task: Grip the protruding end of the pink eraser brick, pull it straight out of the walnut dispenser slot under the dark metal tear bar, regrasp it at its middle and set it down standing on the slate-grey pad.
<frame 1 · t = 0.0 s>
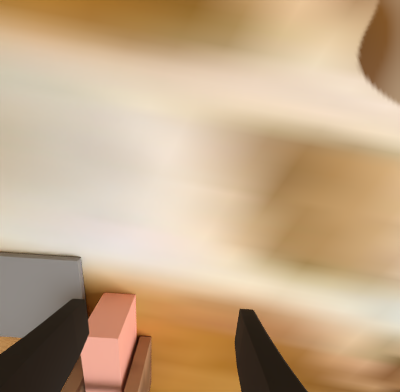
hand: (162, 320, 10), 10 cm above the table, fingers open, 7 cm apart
pad: (36, 296, 23), on the table
pink eraser brick: (122, 329, 24), resting in dispenser
dispenser: (122, 355, 25), on the table
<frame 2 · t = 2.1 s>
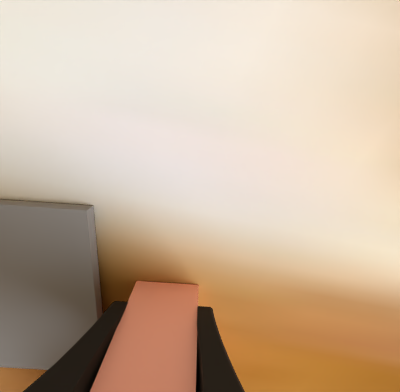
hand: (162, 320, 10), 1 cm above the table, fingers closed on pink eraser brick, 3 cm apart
pad: (5, 288, 12), on the table
pink eraser brick: (165, 353, 13), on the table, touching gripper
when the fingers open (1 cm above the table, at t = 4.4 s): pink eraser brick stays where it is, on the table.
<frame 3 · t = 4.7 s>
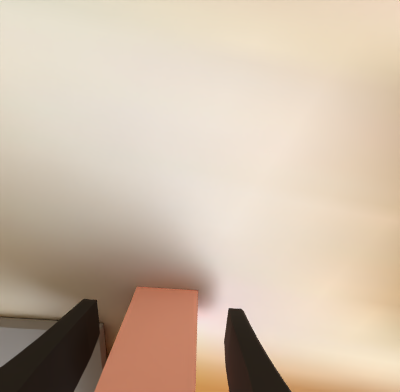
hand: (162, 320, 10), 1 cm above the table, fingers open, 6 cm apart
pad: (28, 380, 14), on the table
pink eraser brick: (166, 355, 13), on the table
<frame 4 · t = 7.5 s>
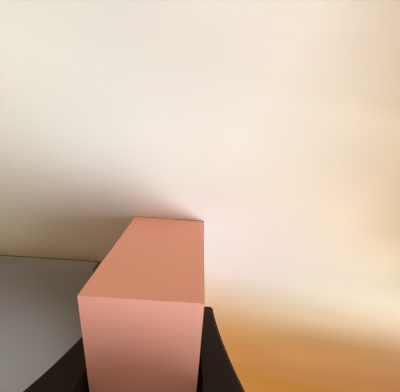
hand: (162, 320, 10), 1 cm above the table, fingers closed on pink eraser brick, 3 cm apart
pad: (16, 331, 13), on the table
pink eraser brick: (167, 304, 12), on the table, touching gripper
when the fingers open (3 cm above the table, at t = 10.0 s): pink eraser brick stays where it is, resting on pad.
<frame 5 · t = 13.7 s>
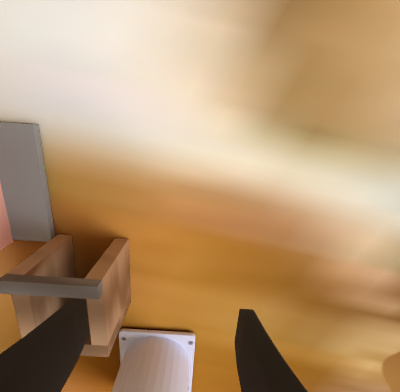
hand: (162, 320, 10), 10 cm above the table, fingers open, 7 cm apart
dispenser: (95, 264, 21), on the table
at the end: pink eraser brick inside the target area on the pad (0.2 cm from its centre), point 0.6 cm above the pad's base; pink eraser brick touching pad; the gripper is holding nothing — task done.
